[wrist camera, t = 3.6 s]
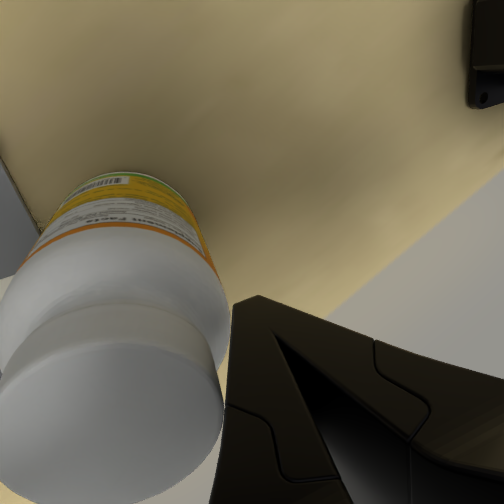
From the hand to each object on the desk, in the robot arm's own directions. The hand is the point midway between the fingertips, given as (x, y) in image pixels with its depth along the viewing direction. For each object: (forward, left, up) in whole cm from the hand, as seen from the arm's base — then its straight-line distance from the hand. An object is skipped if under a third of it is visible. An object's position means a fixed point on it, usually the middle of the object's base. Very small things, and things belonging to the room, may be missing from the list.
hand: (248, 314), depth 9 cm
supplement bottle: (+2, 0, -8) cm, 8 cm away
